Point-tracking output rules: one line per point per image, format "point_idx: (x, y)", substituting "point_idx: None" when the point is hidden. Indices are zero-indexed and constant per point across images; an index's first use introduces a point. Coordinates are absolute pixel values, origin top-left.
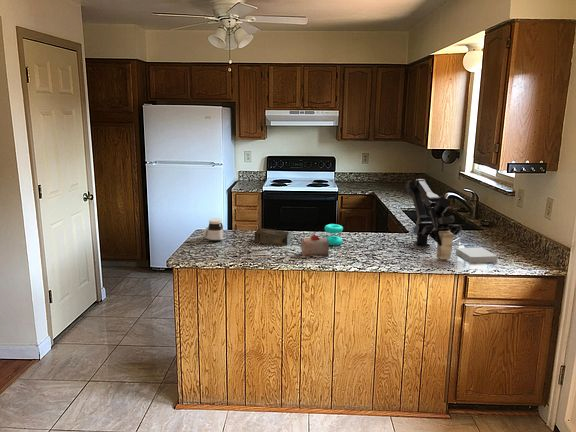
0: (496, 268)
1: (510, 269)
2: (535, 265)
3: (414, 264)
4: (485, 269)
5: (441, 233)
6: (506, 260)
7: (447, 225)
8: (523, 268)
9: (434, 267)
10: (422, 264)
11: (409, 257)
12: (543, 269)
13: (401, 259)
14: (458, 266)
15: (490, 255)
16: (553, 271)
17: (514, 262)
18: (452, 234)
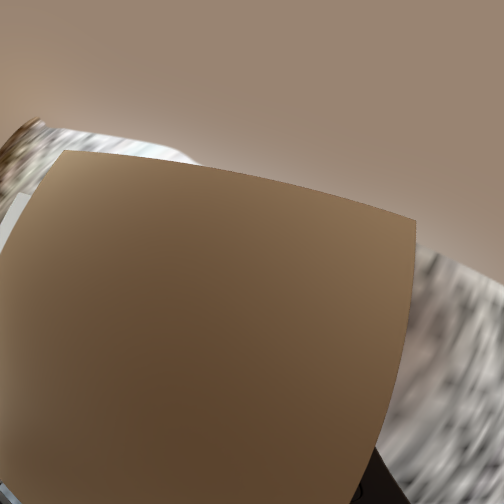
0: (108, 149)
1: (84, 135)
2: (13, 155)
3: (487, 352)
4: (157, 148)
5: (353, 447)
6: (6, 211)
7: None
8: (51, 138)
9: (417, 266)
10: (454, 339)
11: (436, 482)
12: (34, 128)
13: (492, 447)
14: None
15: (23, 208)
16: (37, 117)
17: (13, 187)
18: (90, 164)
